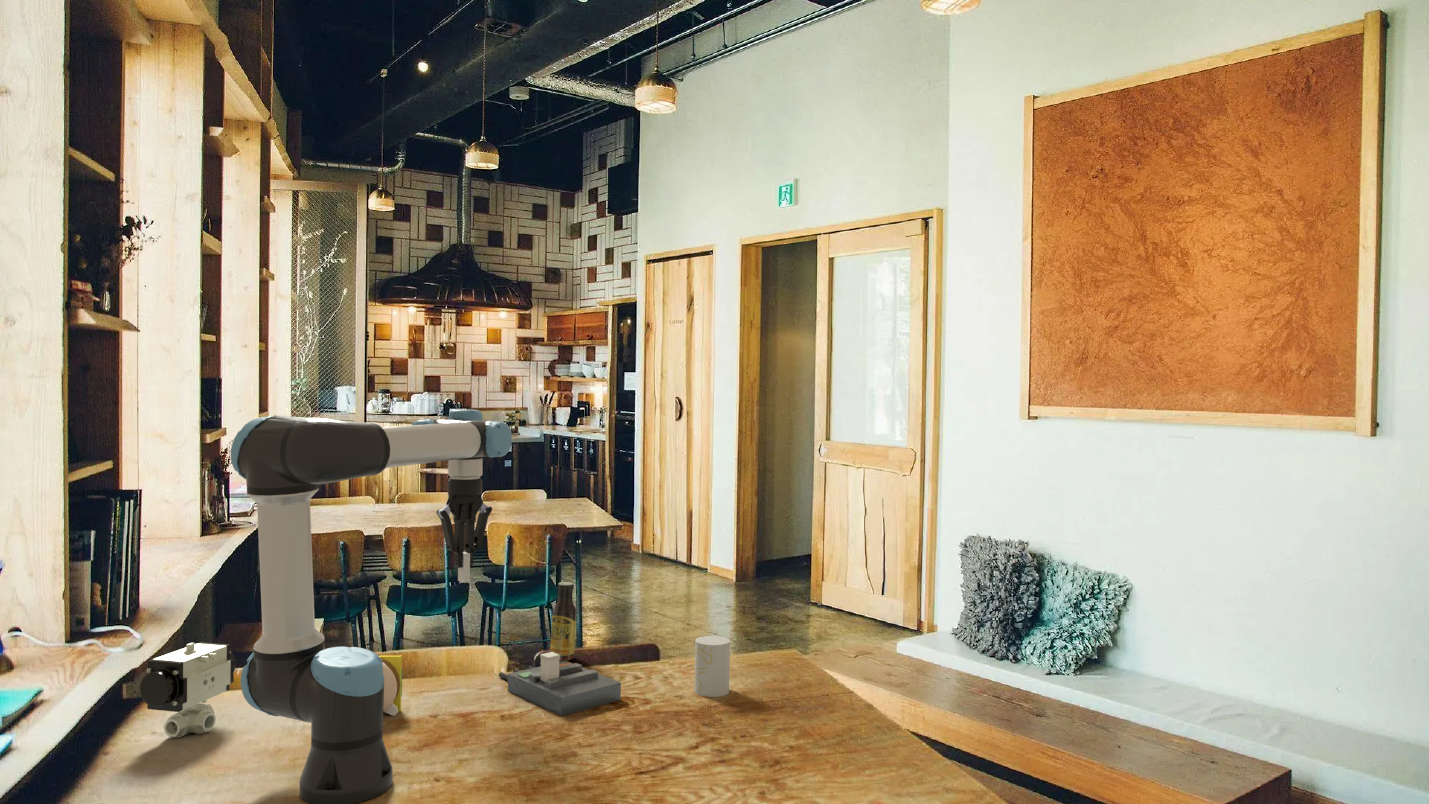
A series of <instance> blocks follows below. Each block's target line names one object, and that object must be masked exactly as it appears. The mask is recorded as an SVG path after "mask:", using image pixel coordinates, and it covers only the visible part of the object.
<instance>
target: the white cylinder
mask: <svg viewBox="0 0 1429 804" xmlns="http://www.w3.org/2000/svg"><path fill="white" fill-rule="evenodd" d="M694 644H695V645H694V646H695V647H694V651H695V653H694V694H696V695H698V696H702V697H705V698H718V697H725V696H727V695H728V694H730V668H731V667H730V664H731V663H730V661H731V659H730V655H731V640H730V638H728V637H726V636H721V635H705V636H699V637H697V638H695V643H694Z"/></svg>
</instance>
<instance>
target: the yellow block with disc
mask: <svg viewBox="0 0 1429 804" xmlns="http://www.w3.org/2000/svg"><path fill="white" fill-rule="evenodd" d="M378 656H379V657H380V658H381V660H382V663H383V674H384V702H383V713H386V714H389V715H390V716H393V717H394V716H396V715H397V714H398V713H400V712H401V711H402V696H403V667H402V665H403V663H402V662H403V660H402V659H403V658H402V657H403V655H378Z"/></svg>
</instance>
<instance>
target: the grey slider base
mask: <svg viewBox="0 0 1429 804" xmlns="http://www.w3.org/2000/svg"><path fill="white" fill-rule="evenodd" d="M498 677H499V678H501V679H503V680H506V681H507V691H508V692H509V693H511V694H513V695H515V696H517V697H520V698H522V699H524V700H526V701H528V702H530V703H533V704H535V705H537V706H539V707H541V708H543V709H545V710H547V711H549V712H552V713H554V714H556V715H558V716H560V717H565V716H568V715H571V714H574V713H579V712H582V711H586V710H589V709H593V708H596V707H599V706H601V707H602V706H605V705H607V704H611V703H615V702H618V701H621V699H622V698H621V695H622V694H621V693H622V692H621V691H622V690H621V689H622V682H621V681H618V680H616V679H614V678H611V677H608V676H606V675H603V674H601V673H599V671H597V670H595V669H588V668H585V667H583V665H582V664H579V663H578V662H577V663H576V662H575V663H573V662H570V661H569V660H568V661H559V677H558V678H554V679H550V680H545V682H544V681H542V680H540V678H541V665H540V666H536V667H534V666H531V665H528V666H527V667H526V669H524V670H519V669H517V668H515V669H513V672H510V673H508V674H506V673H505V672H502V671H501V672H499V674H498Z"/></svg>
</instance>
